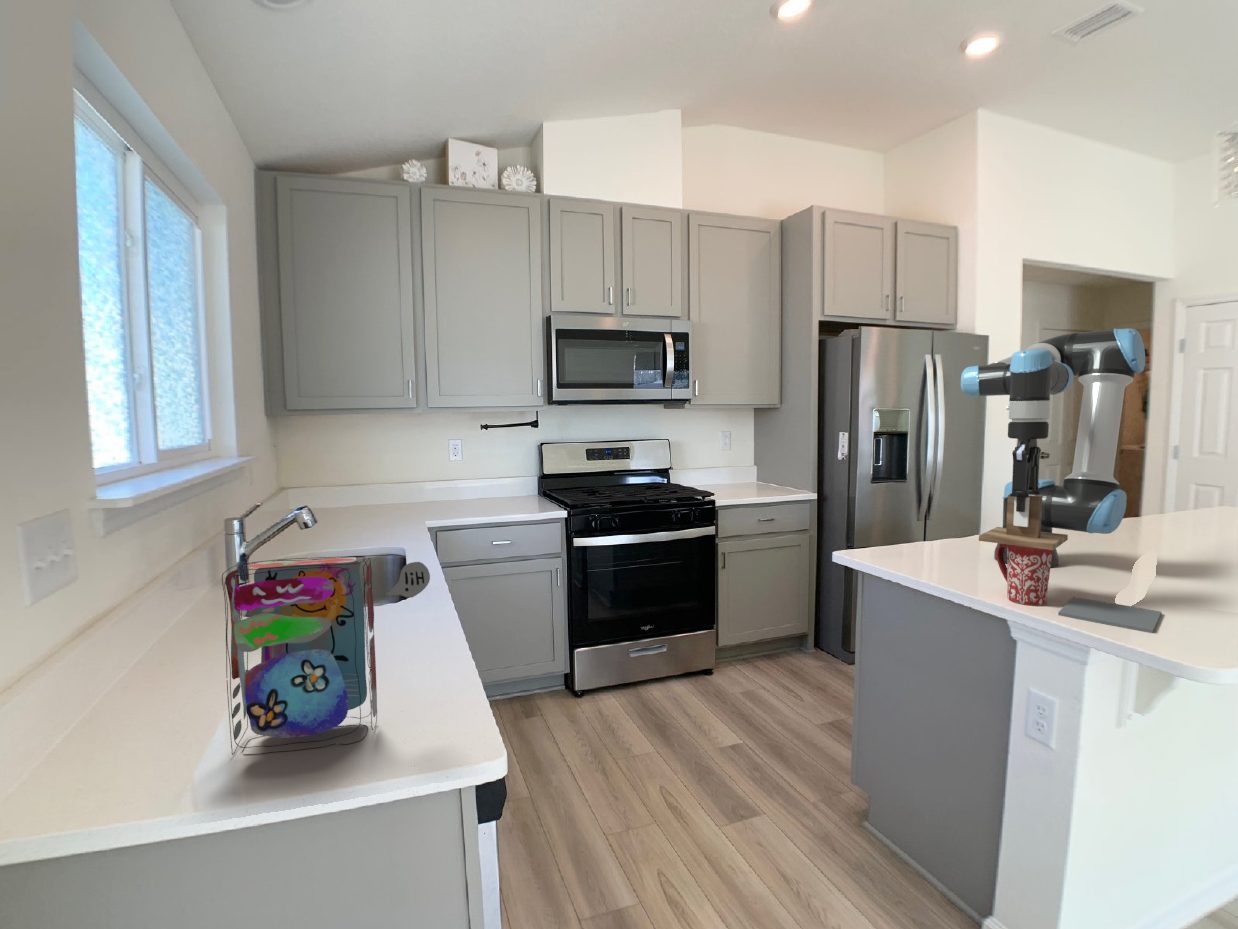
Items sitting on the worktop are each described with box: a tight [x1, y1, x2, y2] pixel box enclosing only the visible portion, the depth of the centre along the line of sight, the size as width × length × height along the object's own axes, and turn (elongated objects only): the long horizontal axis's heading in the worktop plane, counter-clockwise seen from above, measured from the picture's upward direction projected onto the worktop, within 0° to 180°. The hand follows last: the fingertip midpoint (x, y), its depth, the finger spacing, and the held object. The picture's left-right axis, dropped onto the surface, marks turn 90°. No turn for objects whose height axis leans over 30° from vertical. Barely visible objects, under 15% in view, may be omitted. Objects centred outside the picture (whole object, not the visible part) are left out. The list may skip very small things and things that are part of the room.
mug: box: [996, 544, 1053, 607], centre depth 138 cm, size 13×9×14 cm
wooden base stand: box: [978, 495, 1069, 550], centre depth 137 cm, size 14×14×10 cm
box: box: [221, 555, 431, 756], centre depth 83 cm, size 25×6×24 cm, turn 102°
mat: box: [1057, 596, 1163, 634], centre depth 127 cm, size 15×15×1 cm
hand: (1023, 524), depth 137 cm, fingers open, 4 cm apart
